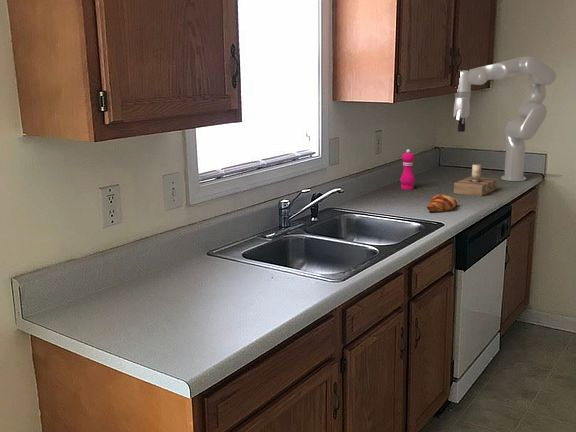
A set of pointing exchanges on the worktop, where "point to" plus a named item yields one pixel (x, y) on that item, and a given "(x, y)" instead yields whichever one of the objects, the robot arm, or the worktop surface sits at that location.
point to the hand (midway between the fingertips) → (461, 131)
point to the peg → (476, 173)
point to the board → (475, 186)
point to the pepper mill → (407, 171)
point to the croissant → (442, 203)
